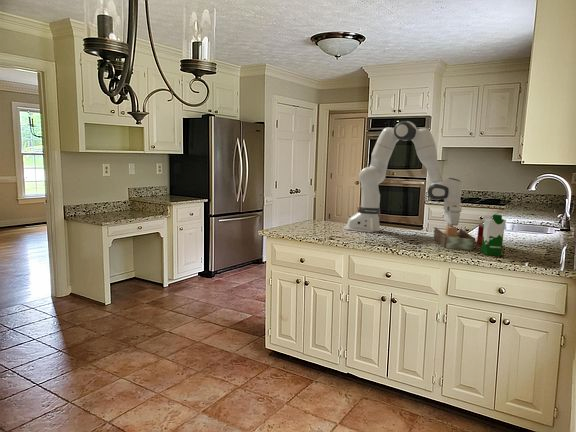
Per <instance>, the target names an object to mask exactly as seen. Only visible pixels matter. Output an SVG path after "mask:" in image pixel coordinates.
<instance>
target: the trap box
mask: <svg viewBox="0 0 576 432" xmlns="http://www.w3.org/2000/svg"><path fill="white" fill-rule="evenodd" d="M433 238H434V240H435V241H437V242H438V243H439V244H440V246H441V247H443V248H444V249H452V250H453V249H456V250H468V251H469V250H471V251H475V246H476V245H475V244H476V238H475V237H474V236H472V235H471V234H470V233H468V232H466V231H465V230H464V229H463V228H459V232H458V231H457V235H447V234H446V230H445V231H444V230H443V231H441V230H440V229H439V228H437V227H436V226H435V227H434V231H433Z"/></svg>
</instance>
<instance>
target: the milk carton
mask: <svg viewBox="0 0 576 432" xmlns="http://www.w3.org/2000/svg"><path fill="white" fill-rule="evenodd" d="M506 223H507V219H504V218H503V215H501V214H493V215H492V217H489V216H488V217H487V216H485V217H483V224H484V229H483V238H482V245H480V247H481V248H480V252H481V253H482V254H484V255H486V256H491V257H492V256H495V257H496V256H498V257H500V256H502V252H503V251H502V250H503V243H504V234H505V227H506Z"/></svg>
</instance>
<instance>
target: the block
mask: <svg viewBox="0 0 576 432" xmlns="http://www.w3.org/2000/svg"><path fill="white" fill-rule="evenodd" d="M445 232H446V234H447V235H457V232H458V227H457V226H453V227H449V226H445Z"/></svg>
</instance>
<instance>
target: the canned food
mask: <svg viewBox="0 0 576 432" xmlns="http://www.w3.org/2000/svg"><path fill="white" fill-rule="evenodd" d="M483 229H484V223H479V224H478V228H477V236H476V237H477V238H476V243H477V244H476V245H479V246H482V238H483Z"/></svg>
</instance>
